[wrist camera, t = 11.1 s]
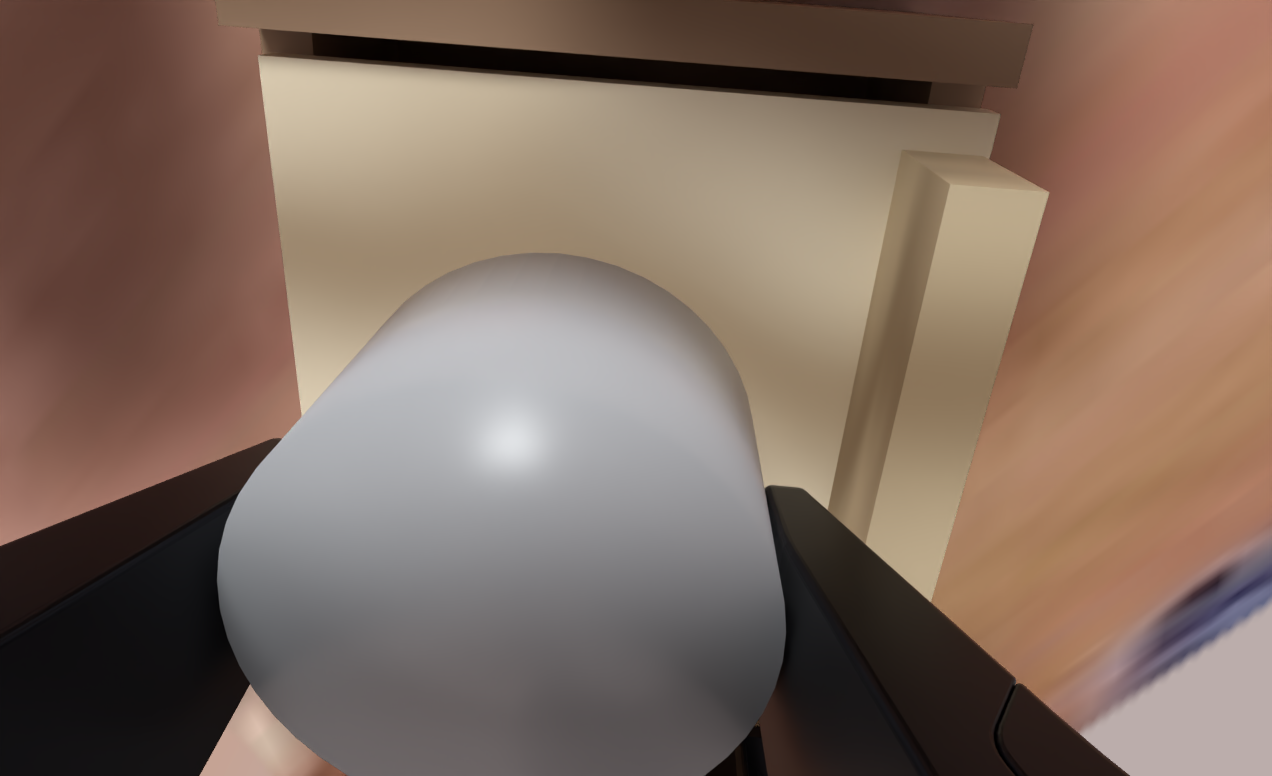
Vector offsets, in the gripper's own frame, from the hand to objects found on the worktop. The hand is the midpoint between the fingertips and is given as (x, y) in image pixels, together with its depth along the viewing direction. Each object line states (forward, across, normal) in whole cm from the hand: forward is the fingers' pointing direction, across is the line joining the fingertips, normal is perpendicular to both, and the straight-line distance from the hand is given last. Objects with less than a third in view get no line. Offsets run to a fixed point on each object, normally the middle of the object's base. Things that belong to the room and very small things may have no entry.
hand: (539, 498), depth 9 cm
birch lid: (+6, 0, 0) cm, 6 cm away
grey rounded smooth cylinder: (+1, 0, 0) cm, 1 cm away
